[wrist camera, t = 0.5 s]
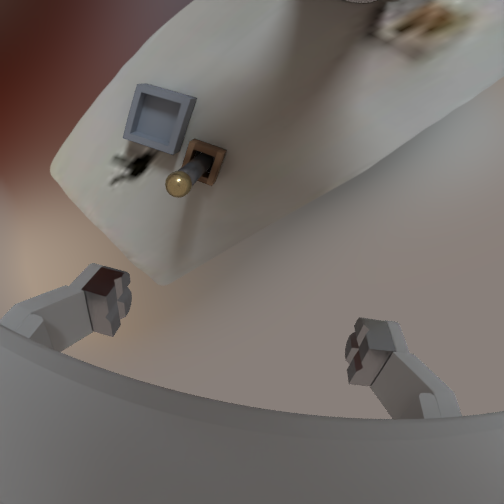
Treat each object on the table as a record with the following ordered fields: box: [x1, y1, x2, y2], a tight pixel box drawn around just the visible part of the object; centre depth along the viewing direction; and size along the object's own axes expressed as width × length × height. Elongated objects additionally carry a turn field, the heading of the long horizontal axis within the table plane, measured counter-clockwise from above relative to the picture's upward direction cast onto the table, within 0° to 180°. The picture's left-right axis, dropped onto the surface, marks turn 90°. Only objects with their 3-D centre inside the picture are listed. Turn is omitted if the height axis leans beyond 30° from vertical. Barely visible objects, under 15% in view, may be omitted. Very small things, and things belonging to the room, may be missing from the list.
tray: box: [123, 84, 197, 155], centre depth 48 cm, size 10×10×4 cm
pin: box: [165, 152, 214, 198], centre depth 46 cm, size 4×4×16 cm
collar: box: [182, 139, 227, 186], centre depth 52 cm, size 6×6×3 cm
